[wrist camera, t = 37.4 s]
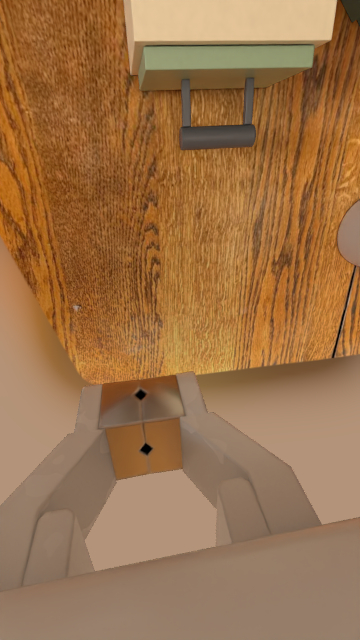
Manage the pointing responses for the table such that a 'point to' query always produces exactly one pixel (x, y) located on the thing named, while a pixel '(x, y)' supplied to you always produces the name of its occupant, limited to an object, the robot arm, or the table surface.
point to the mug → (350, 235)
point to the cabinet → (226, 23)
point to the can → (352, 9)
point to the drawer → (220, 81)
